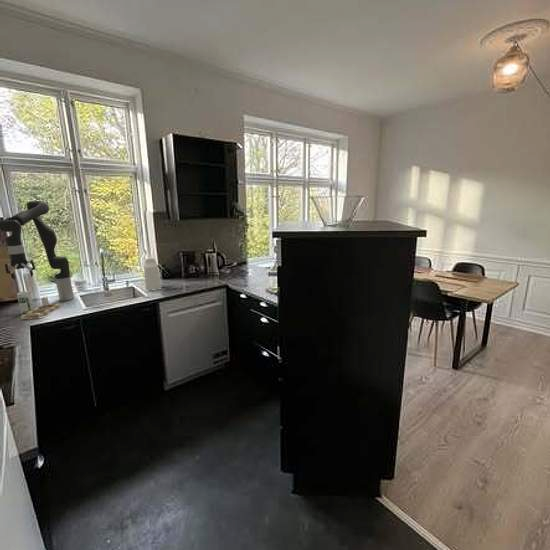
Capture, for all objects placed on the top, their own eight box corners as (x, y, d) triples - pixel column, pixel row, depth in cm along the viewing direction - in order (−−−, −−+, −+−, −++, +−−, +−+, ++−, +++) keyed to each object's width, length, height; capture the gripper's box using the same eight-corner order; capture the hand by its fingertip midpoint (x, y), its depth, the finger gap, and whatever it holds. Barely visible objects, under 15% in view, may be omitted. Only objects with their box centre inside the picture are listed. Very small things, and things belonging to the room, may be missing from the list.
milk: (146, 291, 250) (142, 260, 244) (146, 288, 260) (142, 258, 254) (161, 289, 254) (158, 259, 248) (161, 286, 265) (157, 257, 259)
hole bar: (42, 308, 216) (41, 304, 216) (60, 306, 218) (60, 303, 217) (21, 319, 194) (20, 316, 194) (42, 318, 196) (41, 314, 195)
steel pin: (45, 309, 213) (42, 297, 211) (51, 309, 213) (48, 296, 211) (42, 311, 209) (39, 298, 207) (48, 310, 210) (45, 298, 208)
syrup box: (21, 314, 205) (16, 293, 202) (25, 311, 210) (20, 291, 207) (31, 313, 206) (26, 292, 203) (35, 310, 212) (30, 290, 209)
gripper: (30, 250, 195) (36, 274, 200) (1, 253, 187) (8, 279, 191) (31, 251, 190) (37, 276, 194) (1, 255, 181) (8, 281, 185)
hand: (23, 277), depth 192 cm, fingers open, 8 cm apart
